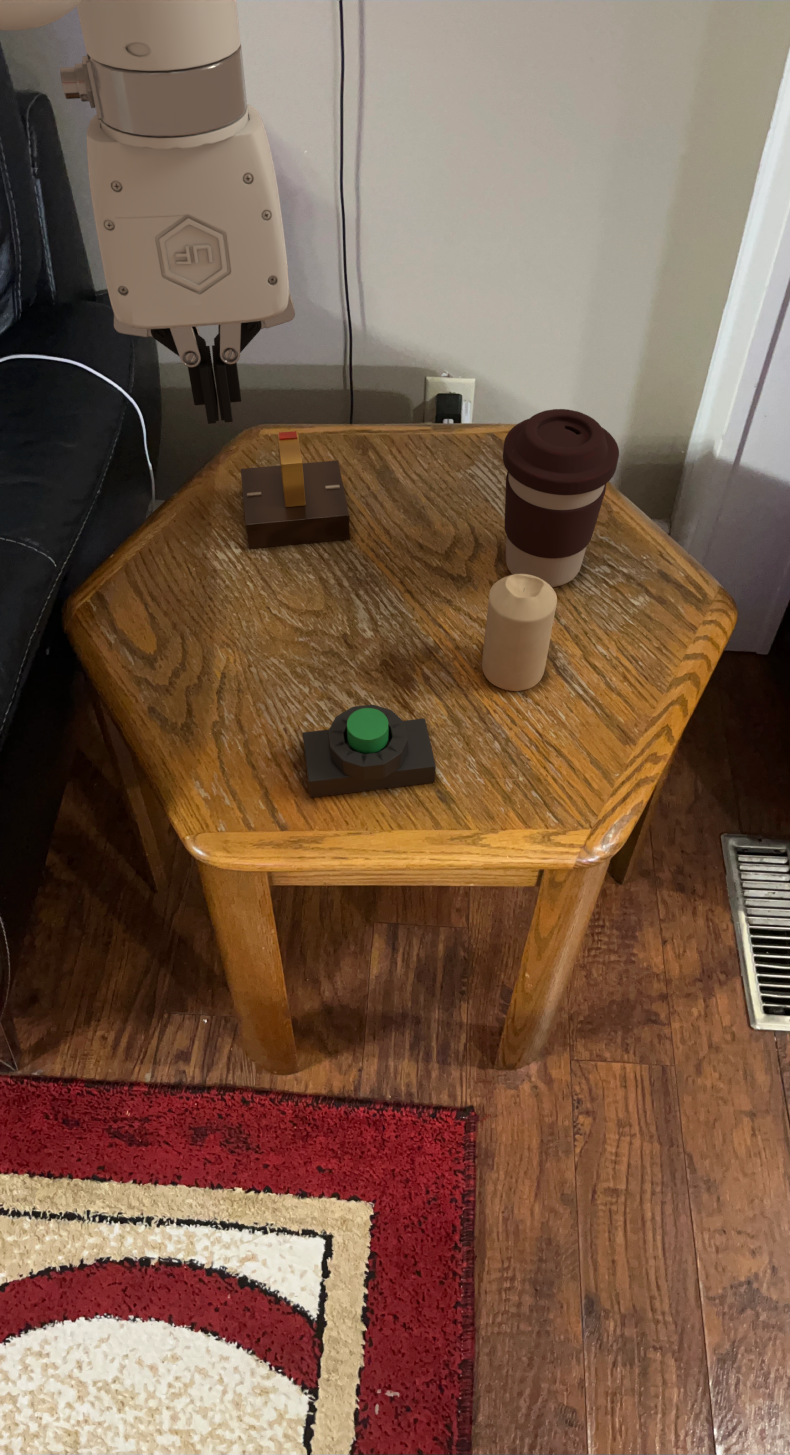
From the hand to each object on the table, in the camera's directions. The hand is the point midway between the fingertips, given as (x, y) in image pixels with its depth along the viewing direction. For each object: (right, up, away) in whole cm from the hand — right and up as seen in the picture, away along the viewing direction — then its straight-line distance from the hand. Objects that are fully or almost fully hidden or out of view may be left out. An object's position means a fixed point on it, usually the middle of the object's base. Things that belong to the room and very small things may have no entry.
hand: (219, 410), depth 63 cm
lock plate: (+1, +1, +36) cm, 36 cm away
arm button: (+9, -21, +13) cm, 27 cm away
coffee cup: (+26, -5, +31) cm, 41 cm away
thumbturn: (+1, +3, +34) cm, 34 cm away
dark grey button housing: (+9, -24, +16) cm, 30 cm away
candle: (+22, -16, +23) cm, 35 cm away
